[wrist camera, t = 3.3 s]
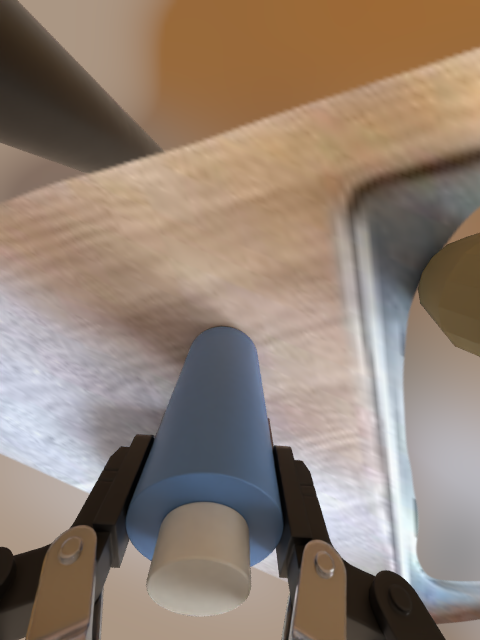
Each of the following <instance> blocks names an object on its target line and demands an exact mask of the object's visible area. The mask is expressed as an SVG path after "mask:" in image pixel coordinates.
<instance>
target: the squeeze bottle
mask: <svg viewBox="0 0 480 640" xmlns="http://www.w3.org/2000/svg"><path fill="white" fill-rule="evenodd" d="M418 292H419V298H420V304H421V305H422V306H423V307H424V309H425V310H426V311H427V312H428V314H429V315H430V316H431V317H432V319H433V320H434V321H435V322H436V324H437V325H438V326H439V327H440V328H441V330H442V331H443V332H444V333H445V335H446V336H447V337H448V338H449V340H450V341H451V342H452V343H453V344H454V346H456V347H458V348H460V349H463V350H465V351H468V352H470V353H472V354H475V355H477V356H479V357H480V233H478V234H475V235H472V236H468V237H466V238H463V239H460V240H458V241H455V242H453V243H450V244H448V245H446V246H445V247H444V248H443V249H442V250H440V251H439V252H438V253H437V254H436V255H434V256H433V257H432V258H431V260H430V261H429V263H428V264H427V266H426V267H425V269H424V271H423V272H422V275H421V279H420V283H419V287H418Z"/></svg>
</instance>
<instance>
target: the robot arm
mask: <svg viewBox="0 0 480 640" xmlns="http://www.w3.org/2000/svg"><path fill="white" fill-rule="evenodd" d="M153 443H154V436H153V435H141V434H137V435H135V437H134V439H133V441H132V443H131V445H130V447H123V446H121V447H120V448H119V449H118V450H117V451H116V452H115V453H114V454H113V455H112V456H111V457H110V458H109V460H108V462H107V464H106V466H105V468H104V470H103V471H102V473H101V475H100V477H99V478H98V481H97V482H96V484H95V486H94V487H93V489H92V491H91V493H90V495H89V497H88V498H87V500H86V502H85V504H84V505H83V507H82V509H81V511H80V513H79V514H78V516H77V518H76V520H75V522H74V523H73V525H72V526H71V527H70V529H68V530H66V531H65V532H63V533H62V534H61V535H60V536H59V537H57V538H56V539H55V540H54V542H53V543H51V544H49V545H47V546H45V547H42V548H38V549H35V550H32V551H28V552H25V553H21V554H18V555H15V556H13V554H12V552H11V551H10V550H9V549H8V548H5V547H0V640H19V639H21V638H24V637H26V639H25V640H101V625H102V607H103V590H104V588H103V586H104V583H105V581H106V578H107V575H108V573H109V570H110V567H114V568H120V565H121V562H122V559H123V556H124V553H125V551H126V548H127V545H128V542H129V537H128V534H127V531H126V514H127V510H128V507H129V504H130V502H131V499H132V497H133V494H134V492H135V489H136V486H137V484H138V481H139V479H140V476H141V474H142V471H143V468H144V466H145V463H146V461H147V458H148V456H149V453H150V450H151V448H152V445H153ZM273 457H274V463H275V469H276V476H277V482H278V488H279V495H280V501H281V507H282V514H283V521H284V528H283V532H282V536H281V540H280V542H279V543H278V545H277V547H276V553H277V561H278V569H279V577H280V578H288V583H289V589H290V594H289V597H288V602H287V609H286V615H285V621H284V627H283V634H282V639H281V640H445V638H444V636H443V635H442V633H441V631H440V630H439V628H438V627H437V625H436V623H435V622H434V620H433V619H432V617H431V615H430V614H429V612H428V611H427V609H426V607H425V606H424V604H423V602H422V601H421V599H420V598H419V596H418V594H417V593H416V592H415V590H414V589H413V588H412V586H411V585H410V584H409V583H408V582H407V581H406V580H405V579H404V578H402V577H401V576H399V575H398V574H396V573H394V572H391V571H387V570H385V571H381V572H379V573H378V574H377V575H376V577H375V576H373V575H371V574H369V573H367V572H364V571H362V570H360V569H358V568H356V567H354V566H352V565H350V564H349V563H347V562H346V561H345V560H344V559H343V558H342V557H341V556H340V555H339V553H338V552H337V551H336V550H335V549H334V547H333V545H332V543H331V541H330V538H329V535H328V532H327V529H326V525H325V522H324V518H323V515H322V511H321V508H320V505H319V501H318V498H317V496H316V491H315V488H314V486H313V481H312V477H311V474H310V471H309V470H308V468H307V467H306V465H305V464H304V463H303V461H300V460H294V457H293V453H292V449H291V447H287V446H275V445H274V447H273Z"/></svg>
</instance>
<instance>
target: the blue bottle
mask: <svg viewBox="0 0 480 640" xmlns="http://www.w3.org/2000/svg"><path fill="white" fill-rule="evenodd" d="M283 528H284V521H283V514H282V507H281V501H280V495H279V488H278V482H277V476H276V469H275V463H274V457H273V450H272V444H271V438H270V431H269V425H268V419H267V412H266V406H265V400H264V393H263V387H262V381H261V374H260V368H259V362H258V355H257V350H256V347H255V345H254V343H253V342H252V340H251V339H250V338H249V337H248V336H247V335H246V334H245V333H243V332H241V331H240V330H237V329H235V328H231V327H214V328H211V329H208V330H206V331H204V332H202V333H201V334H200V335H199V336H197V338H196V339H195V340H194V341H193V343H192V345H191V347H190V350H189V352H188V355H187V358H186V360H185V363H184V365H183V368H182V370H181V373H180V376H179V378H178V381H177V383H176V386H175V388H174V391H173V394H172V396H171V399H170V401H169V404H168V407H167V409H166V412H165V414H164V417H163V419H162V422H161V425H160V427H159V430H158V432H157V435H156V437H155V440H154V443H153V445H152V448H151V450H150V453H149V456H148V458H147V461H146V463H145V466H144V468H143V471H142V474H141V476H140V479H139V481H138V484H137V486H136V489H135V492H134V494H133V497H132V499H131V502H130V504H129V507H128V510H127V514H126V531H127V534H128V537H129V539H130V541H131V542H132V544H133V545H134V546H135V548H136V549H137V550H138V551H139V552H140V553H141V554H142V555H143V556H145V557H146V558H148V559H149V560H150V561H152V562H151V566H150V570H149V574H148V578H147V584H146V585H147V591H148V594H149V596H150V597H151V599H152V600H153V601H154V602H155V603H157V604H158V605H160V606H161V607H163V608H165V609H167V610H169V611H172V612H174V613H178V614H182V615H188V616H212V615H218V614H222V613H225V612H228V611H231V610H233V609H235V608H237V607H238V606H240V605H241V604H242V603H243V602H244V601H245V600H246V599H247V597H248V596H249V593H250V590H251V570H250V567H251V566H253V565H255V564H257V563H259V562H260V561H262V560H263V559H265V558H266V557H267V556H268V555H269V554H271V553H272V552H273V550H274V549H275V548H276V547H277V545H278V543H279V542H280V540H281V536H282V532H283Z"/></svg>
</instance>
